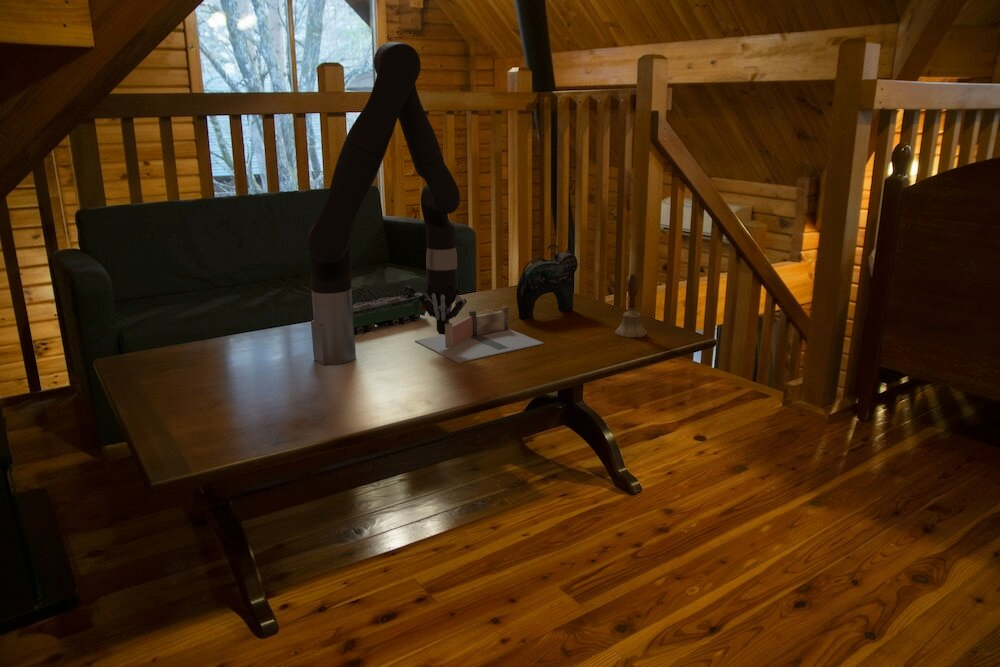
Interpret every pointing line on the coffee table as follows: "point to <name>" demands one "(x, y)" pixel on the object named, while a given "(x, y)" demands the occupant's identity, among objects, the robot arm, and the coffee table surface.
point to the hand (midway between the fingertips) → (443, 333)
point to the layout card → (480, 345)
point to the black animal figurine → (547, 282)
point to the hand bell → (631, 314)
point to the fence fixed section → (490, 321)
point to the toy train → (387, 311)
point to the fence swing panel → (458, 331)
